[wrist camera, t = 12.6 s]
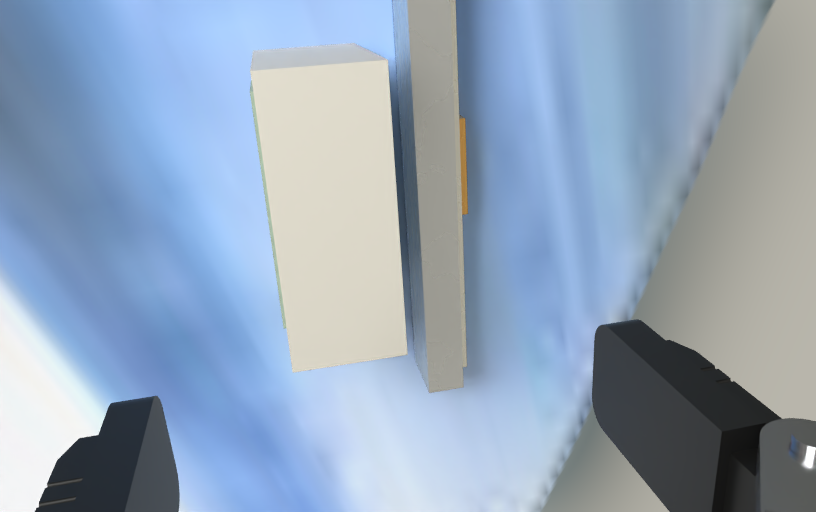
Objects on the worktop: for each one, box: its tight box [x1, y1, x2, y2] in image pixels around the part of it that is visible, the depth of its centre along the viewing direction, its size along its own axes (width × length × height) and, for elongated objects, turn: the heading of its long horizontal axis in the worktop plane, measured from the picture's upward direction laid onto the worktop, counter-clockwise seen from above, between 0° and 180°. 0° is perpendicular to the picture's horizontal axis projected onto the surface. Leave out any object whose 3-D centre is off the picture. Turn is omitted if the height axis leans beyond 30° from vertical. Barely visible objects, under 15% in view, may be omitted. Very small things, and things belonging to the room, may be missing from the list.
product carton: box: [250, 43, 408, 372], centre depth 25 cm, size 4×10×8 cm, turn 3°
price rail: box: [392, 0, 468, 393], centre depth 28 cm, size 20×2×3 cm, turn 3°
